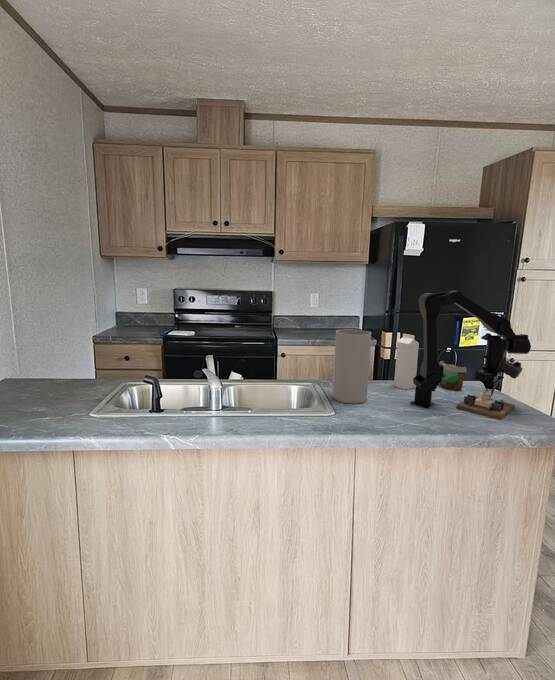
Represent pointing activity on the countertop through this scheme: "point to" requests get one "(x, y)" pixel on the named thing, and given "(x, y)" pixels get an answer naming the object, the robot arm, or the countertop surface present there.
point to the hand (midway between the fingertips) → (489, 395)
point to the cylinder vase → (351, 365)
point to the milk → (406, 362)
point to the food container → (452, 377)
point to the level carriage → (485, 399)
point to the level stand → (495, 411)
